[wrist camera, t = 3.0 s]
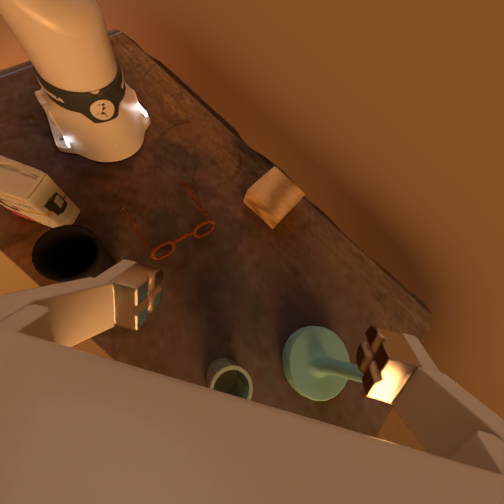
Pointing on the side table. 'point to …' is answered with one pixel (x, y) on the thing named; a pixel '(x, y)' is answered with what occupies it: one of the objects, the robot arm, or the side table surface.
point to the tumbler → (229, 378)
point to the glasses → (179, 237)
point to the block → (273, 197)
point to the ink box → (34, 195)
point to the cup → (70, 254)
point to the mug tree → (317, 363)
